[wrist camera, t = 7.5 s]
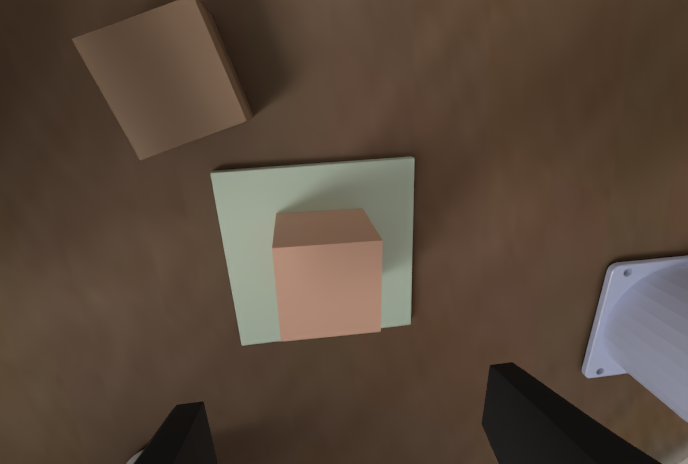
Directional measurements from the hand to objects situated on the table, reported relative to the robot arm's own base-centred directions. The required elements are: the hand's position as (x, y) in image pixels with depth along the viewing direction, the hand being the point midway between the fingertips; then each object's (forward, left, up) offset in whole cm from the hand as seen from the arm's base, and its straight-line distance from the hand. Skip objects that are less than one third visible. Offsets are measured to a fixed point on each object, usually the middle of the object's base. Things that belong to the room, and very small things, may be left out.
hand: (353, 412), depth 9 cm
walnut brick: (+5, -8, -10) cm, 14 cm away
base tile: (0, 0, -10) cm, 10 cm away
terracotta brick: (0, 0, -9) cm, 9 cm away
